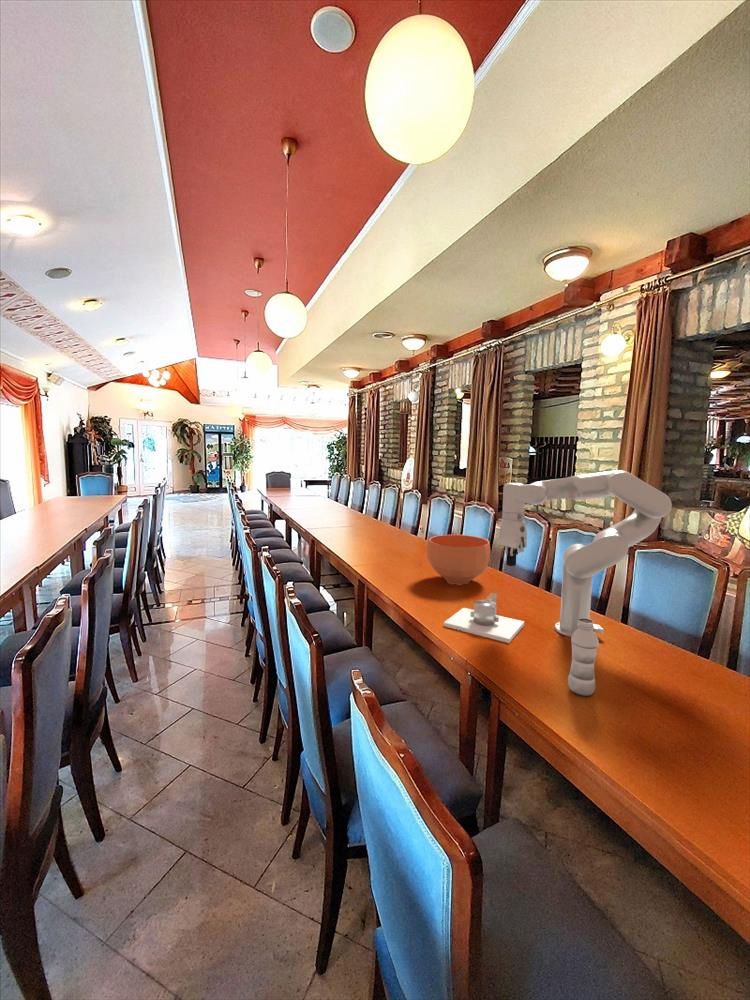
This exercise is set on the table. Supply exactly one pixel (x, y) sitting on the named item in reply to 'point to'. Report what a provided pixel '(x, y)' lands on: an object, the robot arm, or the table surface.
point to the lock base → (498, 631)
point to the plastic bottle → (583, 658)
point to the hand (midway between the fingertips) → (511, 565)
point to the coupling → (485, 611)
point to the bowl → (458, 557)
